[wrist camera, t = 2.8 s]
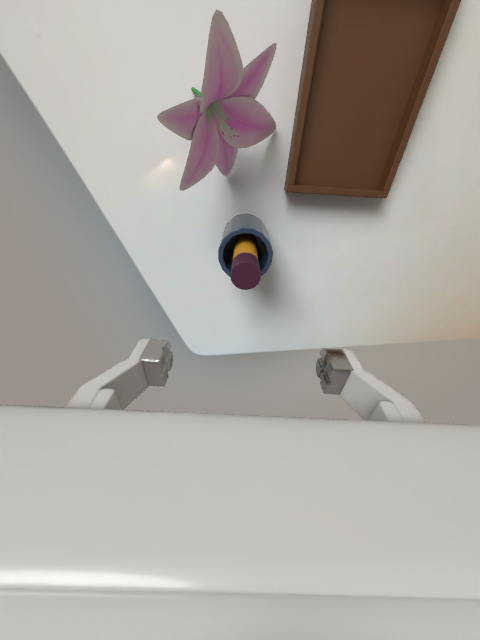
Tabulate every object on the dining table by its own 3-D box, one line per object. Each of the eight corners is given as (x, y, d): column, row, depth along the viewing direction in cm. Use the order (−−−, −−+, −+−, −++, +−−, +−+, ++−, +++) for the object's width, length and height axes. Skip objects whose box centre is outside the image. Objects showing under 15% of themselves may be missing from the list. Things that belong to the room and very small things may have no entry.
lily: (175, 186, 28) (198, 225, 23) (108, 42, 19) (122, 52, 13) (261, 145, 29) (303, 173, 23) (240, -17, 19) (304, -31, 14)
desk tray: (318, -48, 18) (326, -69, 16) (459, -36, 18) (482, -56, 17) (284, 189, 28) (286, 192, 26) (377, 196, 28) (386, 198, 26)
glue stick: (235, 227, 29) (231, 260, 20) (256, 228, 30) (262, 262, 20) (234, 247, 31) (230, 289, 21) (254, 249, 31) (259, 290, 21)
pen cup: (223, 212, 29) (218, 226, 23) (269, 215, 29) (276, 230, 23) (223, 256, 32) (218, 279, 26) (264, 259, 32) (268, 282, 26)
